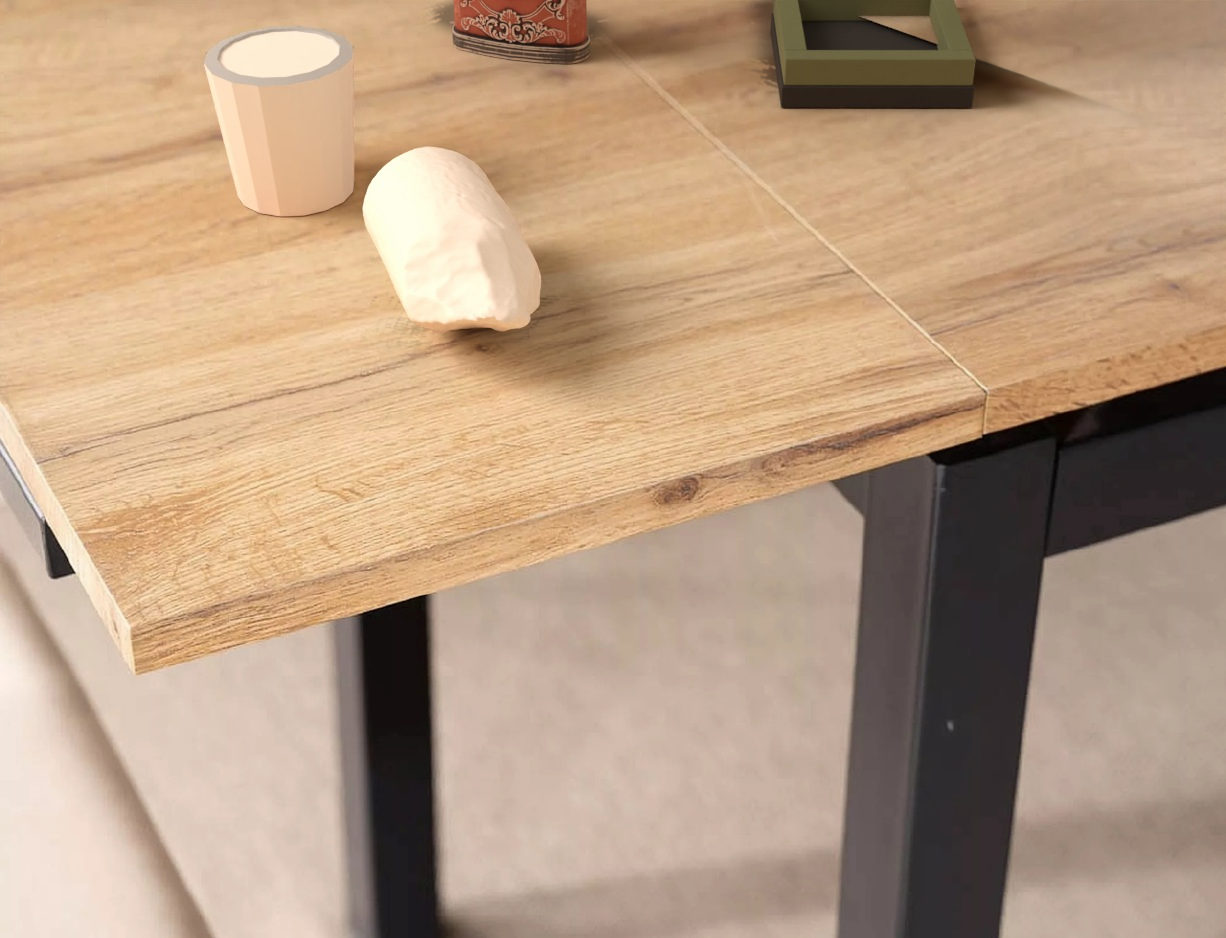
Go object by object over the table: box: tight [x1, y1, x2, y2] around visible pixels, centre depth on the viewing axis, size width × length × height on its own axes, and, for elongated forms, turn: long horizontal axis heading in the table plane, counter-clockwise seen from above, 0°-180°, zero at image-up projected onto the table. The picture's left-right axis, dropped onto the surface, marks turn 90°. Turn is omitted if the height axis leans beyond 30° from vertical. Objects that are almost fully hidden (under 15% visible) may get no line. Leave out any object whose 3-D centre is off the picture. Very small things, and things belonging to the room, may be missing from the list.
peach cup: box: [203, 25, 355, 217], centre depth 82 cm, size 7×7×7 cm
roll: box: [361, 146, 542, 333], centre depth 73 cm, size 6×12×6 cm, turn 18°
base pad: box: [769, 0, 977, 109], centre depth 95 cm, size 10×10×3 cm
